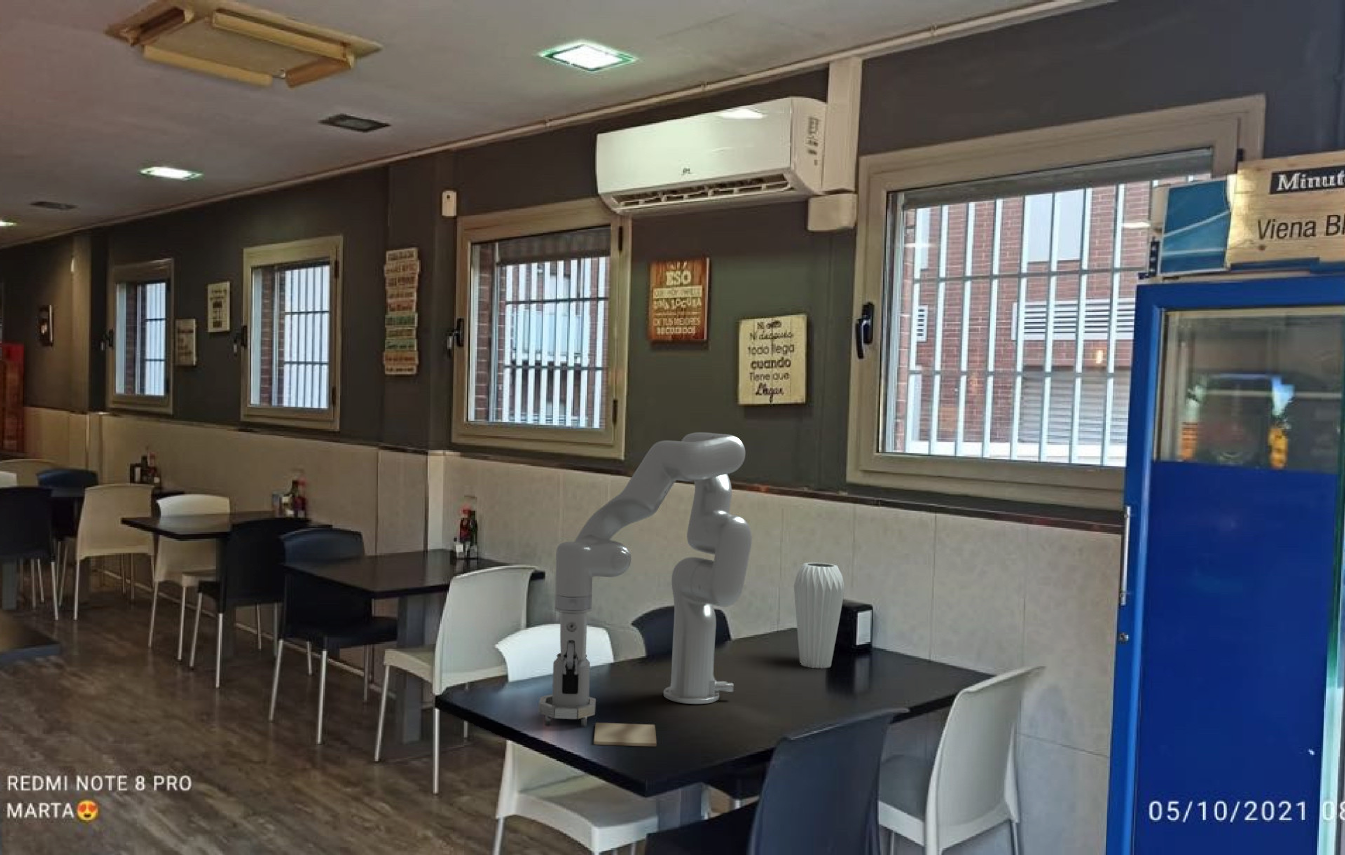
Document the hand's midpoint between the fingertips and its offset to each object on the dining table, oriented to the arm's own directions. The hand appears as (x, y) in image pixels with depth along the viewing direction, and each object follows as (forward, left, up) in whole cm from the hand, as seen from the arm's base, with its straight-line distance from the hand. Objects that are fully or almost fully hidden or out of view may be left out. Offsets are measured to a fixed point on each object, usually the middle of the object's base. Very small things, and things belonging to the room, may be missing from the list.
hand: (571, 687), depth 216 cm
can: (0, 0, -5) cm, 5 cm away
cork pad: (-11, +9, -7) cm, 16 cm away
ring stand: (+1, 0, -7) cm, 7 cm away
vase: (-61, -57, -7) cm, 84 cm away
